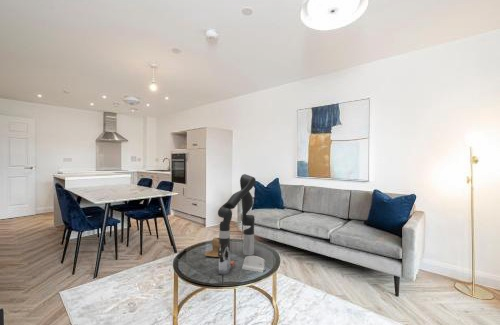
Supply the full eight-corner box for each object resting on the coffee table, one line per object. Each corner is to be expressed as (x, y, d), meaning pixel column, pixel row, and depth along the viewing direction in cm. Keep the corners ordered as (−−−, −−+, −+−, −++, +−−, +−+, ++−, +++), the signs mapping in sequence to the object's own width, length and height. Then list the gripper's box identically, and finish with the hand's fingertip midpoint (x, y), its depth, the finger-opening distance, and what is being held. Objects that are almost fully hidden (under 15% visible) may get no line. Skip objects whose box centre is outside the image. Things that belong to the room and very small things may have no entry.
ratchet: (226, 275, 161) (227, 263, 162) (217, 274, 164) (217, 262, 164) (236, 265, 179) (237, 254, 180) (228, 264, 182) (228, 253, 182)
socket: (226, 270, 162) (226, 260, 162) (218, 269, 164) (218, 259, 164) (230, 267, 168) (230, 257, 168) (222, 266, 170) (222, 256, 170)
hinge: (241, 268, 173) (243, 254, 177) (243, 268, 177) (245, 254, 181) (263, 272, 167) (265, 257, 171) (265, 272, 171) (266, 257, 175)
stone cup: (226, 254, 204) (227, 236, 205) (222, 259, 192) (222, 240, 193) (210, 252, 207) (210, 235, 208) (204, 257, 195) (205, 239, 196)
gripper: (225, 239, 159) (224, 264, 159) (233, 234, 173) (232, 257, 172) (215, 238, 161) (214, 263, 161) (223, 233, 175) (223, 255, 174)
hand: (224, 260), depth 166 cm, fingers open, 8 cm apart
